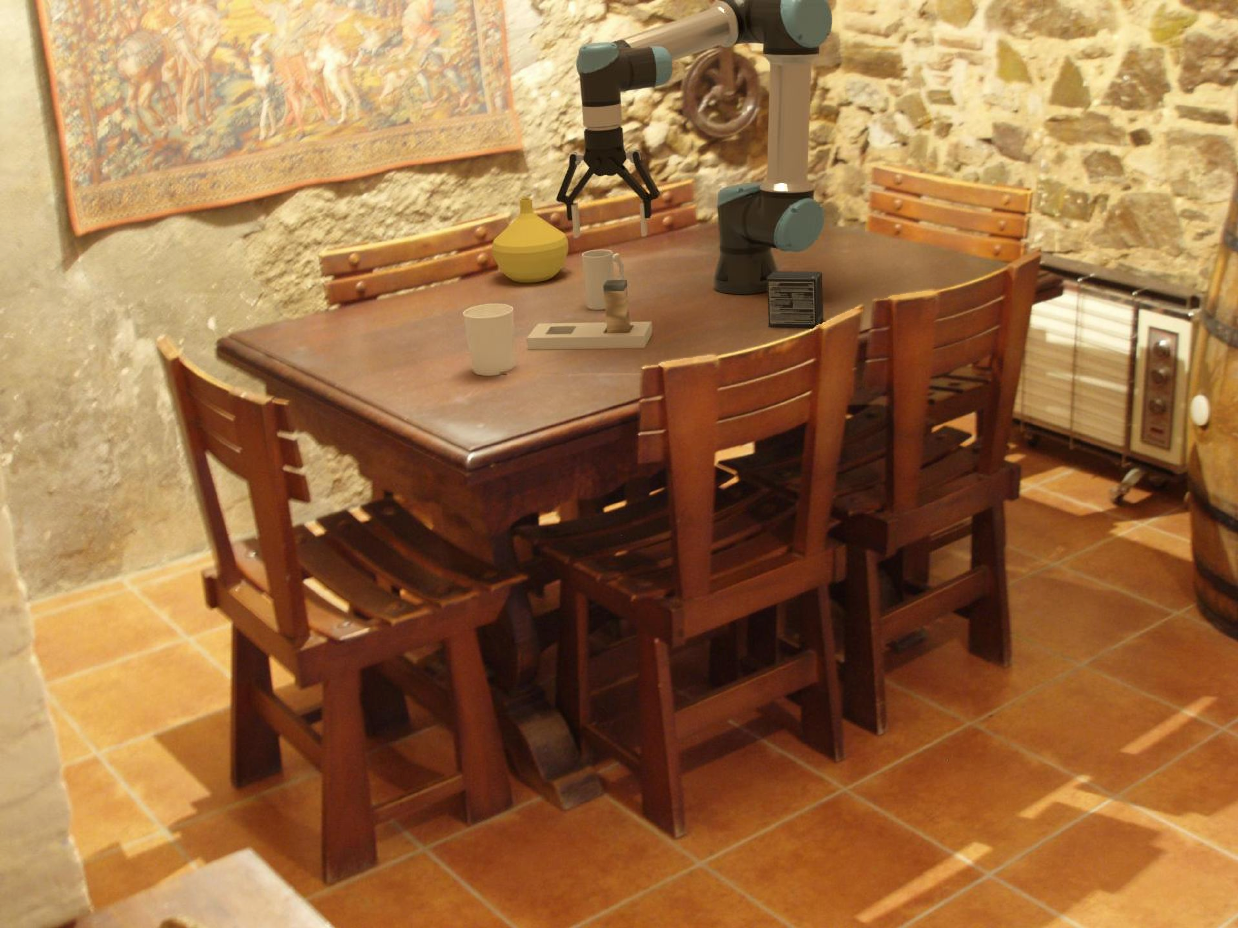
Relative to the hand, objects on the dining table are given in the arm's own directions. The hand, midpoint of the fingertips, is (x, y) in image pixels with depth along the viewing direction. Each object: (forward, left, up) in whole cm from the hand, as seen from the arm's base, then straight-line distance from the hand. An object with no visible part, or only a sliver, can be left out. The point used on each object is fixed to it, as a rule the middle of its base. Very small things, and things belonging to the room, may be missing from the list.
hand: (610, 236), depth 282 cm
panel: (+6, 0, -22) cm, 23 cm away
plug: (0, 0, -22) cm, 22 cm away
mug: (+8, -29, -23) cm, 38 cm away
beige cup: (+22, +16, -23) cm, 35 cm away
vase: (+31, -54, -23) cm, 66 cm away
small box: (-35, -12, -23) cm, 43 cm away
